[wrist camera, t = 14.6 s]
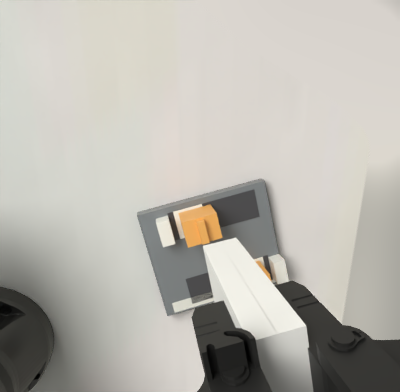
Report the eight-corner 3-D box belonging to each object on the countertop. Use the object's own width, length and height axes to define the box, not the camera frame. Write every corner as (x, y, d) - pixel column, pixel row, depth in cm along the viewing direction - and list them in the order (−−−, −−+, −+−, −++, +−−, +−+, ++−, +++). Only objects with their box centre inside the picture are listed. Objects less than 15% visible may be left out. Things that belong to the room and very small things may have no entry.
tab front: (184, 235, 42) (188, 250, 37) (178, 213, 41) (182, 225, 36) (215, 227, 42) (224, 240, 37) (210, 204, 41) (218, 215, 37)
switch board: (166, 309, 45) (168, 325, 42) (137, 212, 42) (136, 220, 38) (279, 275, 47) (290, 288, 43) (260, 178, 43) (270, 183, 40)
